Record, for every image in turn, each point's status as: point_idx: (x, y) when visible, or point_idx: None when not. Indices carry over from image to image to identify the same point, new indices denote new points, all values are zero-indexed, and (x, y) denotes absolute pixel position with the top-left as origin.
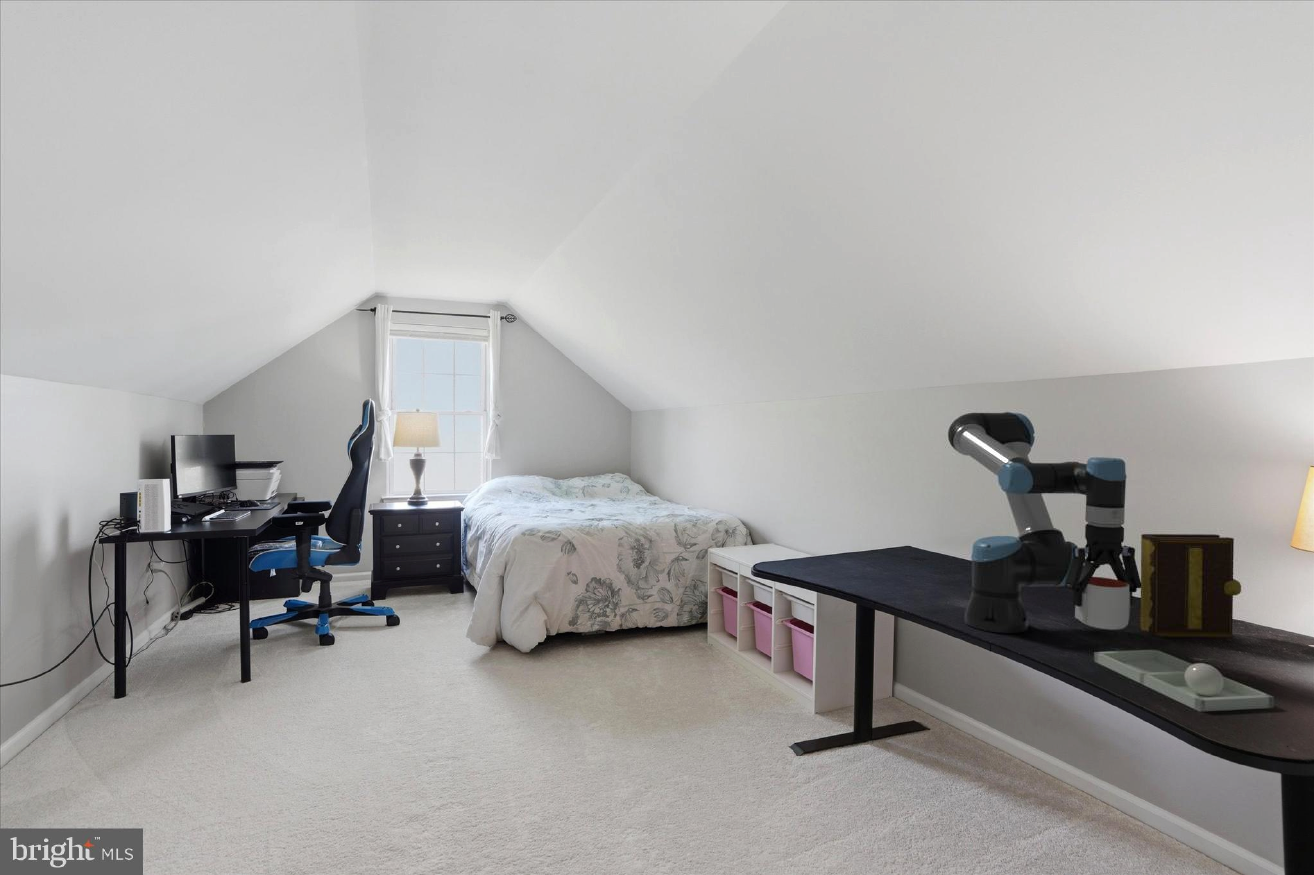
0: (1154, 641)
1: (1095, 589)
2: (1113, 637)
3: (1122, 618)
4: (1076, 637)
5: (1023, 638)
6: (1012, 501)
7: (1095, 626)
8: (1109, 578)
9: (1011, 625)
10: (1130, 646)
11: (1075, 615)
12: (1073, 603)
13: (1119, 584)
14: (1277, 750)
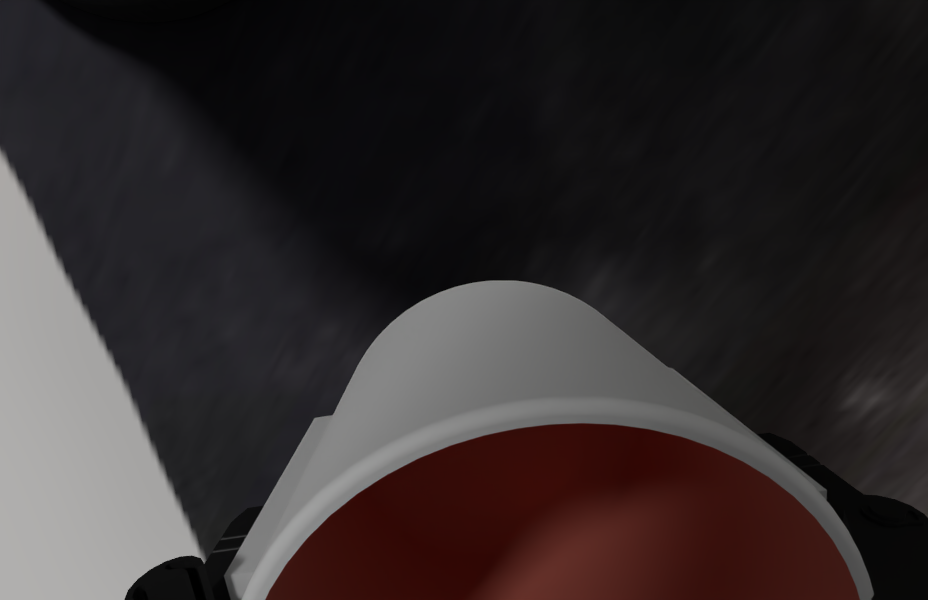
0: (879, 151)
1: None
2: (716, 84)
3: (551, 591)
4: (511, 87)
5: (201, 112)
6: None
7: (399, 502)
8: (816, 517)
9: (128, 3)
10: (696, 235)
11: (311, 429)
12: (239, 519)
13: (820, 586)
14: None
